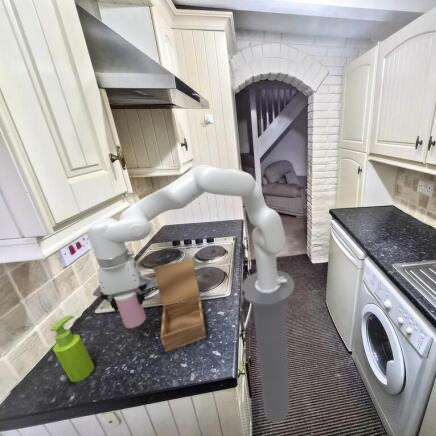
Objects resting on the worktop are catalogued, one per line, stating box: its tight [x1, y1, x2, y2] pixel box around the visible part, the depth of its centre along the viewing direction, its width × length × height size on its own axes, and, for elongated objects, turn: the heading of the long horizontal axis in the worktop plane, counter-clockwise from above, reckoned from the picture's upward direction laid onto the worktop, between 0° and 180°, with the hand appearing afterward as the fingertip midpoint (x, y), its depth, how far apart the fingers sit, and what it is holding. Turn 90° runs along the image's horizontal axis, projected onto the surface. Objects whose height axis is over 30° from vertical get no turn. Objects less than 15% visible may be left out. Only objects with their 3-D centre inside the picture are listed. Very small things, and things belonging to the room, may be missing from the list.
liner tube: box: [114, 289, 147, 329], centre depth 76 cm, size 6×6×12 cm
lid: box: [153, 258, 201, 307], centre depth 92 cm, size 16×14×6 cm
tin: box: [140, 272, 159, 294], centre depth 107 cm, size 15×3×8 cm, turn 126°
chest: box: [160, 296, 207, 353], centre depth 86 cm, size 16×14×7 cm
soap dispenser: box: [49, 315, 95, 383], centre depth 69 cm, size 6×7×20 cm
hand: (129, 304), depth 76 cm, fingers closed on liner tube, 6 cm apart
